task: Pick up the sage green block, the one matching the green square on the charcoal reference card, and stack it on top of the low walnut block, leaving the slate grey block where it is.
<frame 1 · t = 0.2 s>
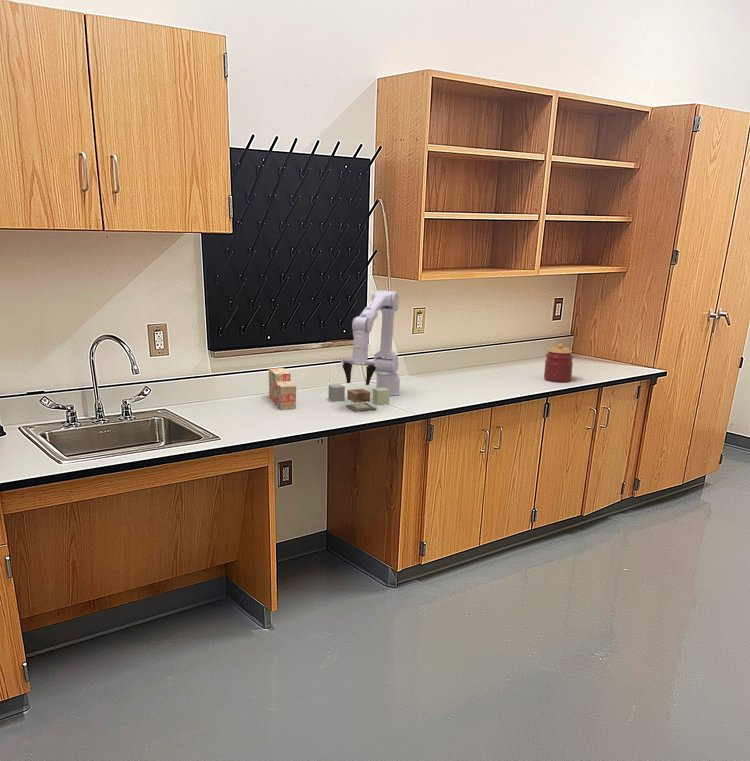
hand: (357, 384, 259), 10 cm above the table, tool pointing down, fingers open, 7 cm apart
walnut base block: (358, 400, 277), on the table
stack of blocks: (282, 403, 270), on the table
sage green block: (380, 403, 273), on the table
canister: (557, 380, 325), on the table
slate grey block: (336, 400, 276), on the table
reference card: (360, 408, 265), on the table
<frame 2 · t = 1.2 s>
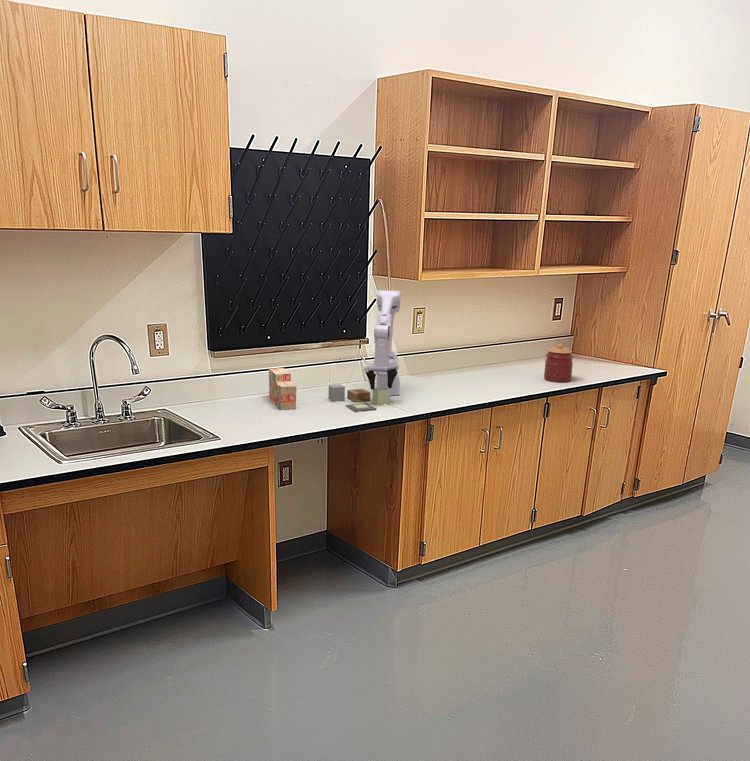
hand: (381, 388, 271), 6 cm above the table, tool pointing down, fingers open, 7 cm apart
nothing on the table moved.
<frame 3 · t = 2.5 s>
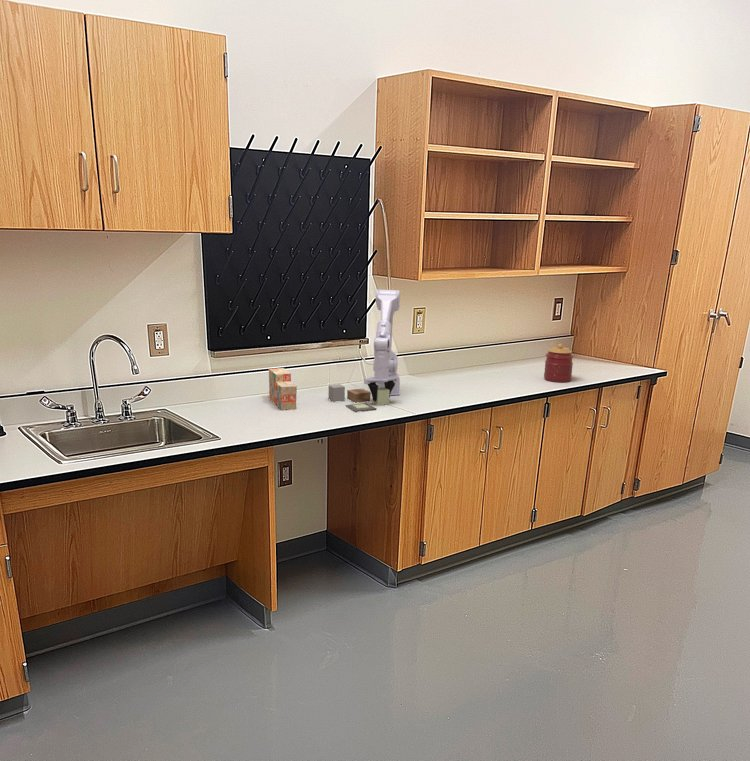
hand: (380, 400, 272), 1 cm above the table, tool pointing down, fingers closed on sage green block, 5 cm apart
sage green block: (380, 403, 273), on the table, touching gripper
everything else where it was.
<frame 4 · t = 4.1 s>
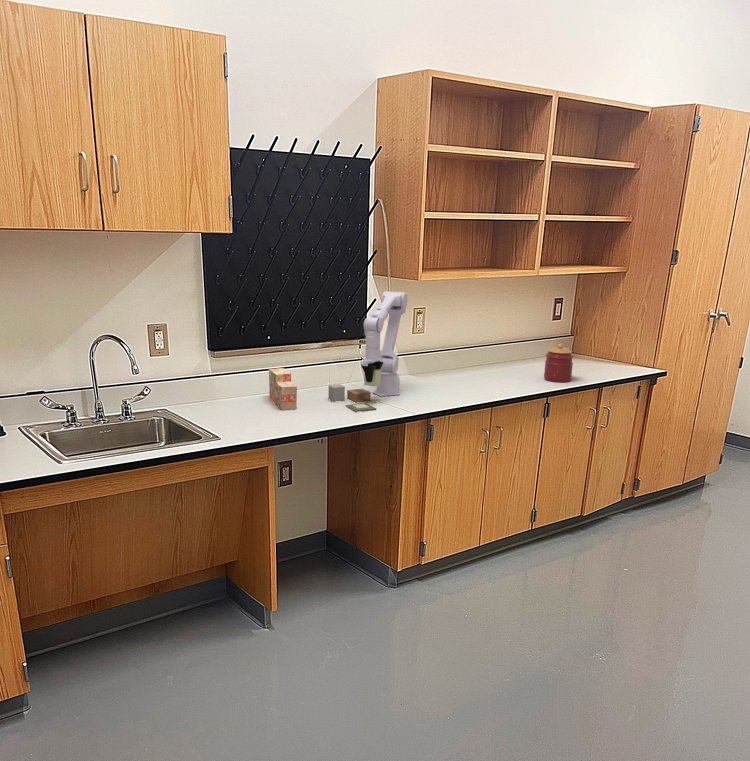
hand: (372, 380, 273), 9 cm above the table, tool pointing down, fingers closed on sage green block, 5 cm apart
sage green block: (372, 384, 273), point 7 cm above the table, touching gripper
everything else where it was.
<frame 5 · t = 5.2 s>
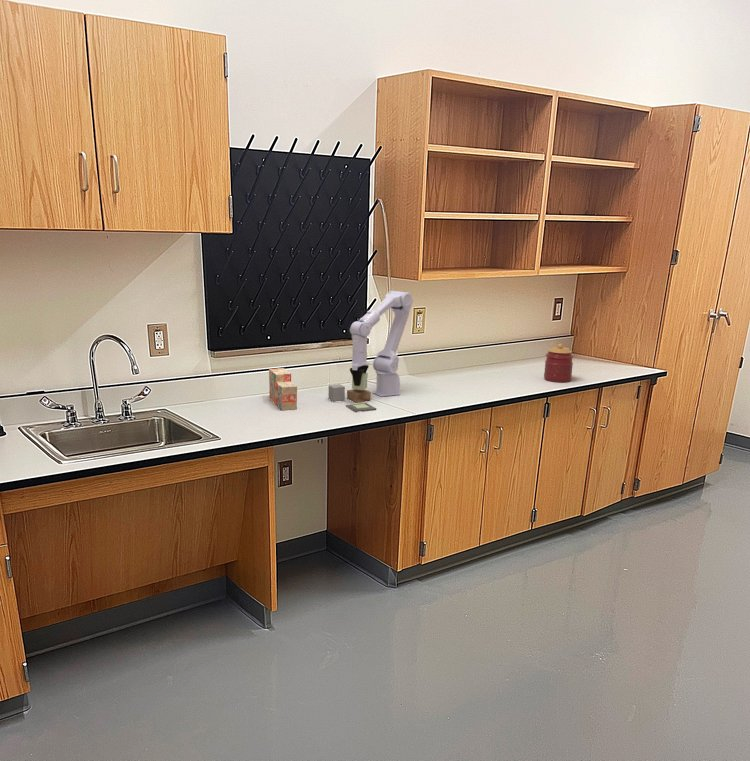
hand: (359, 384, 276), 7 cm above the table, tool pointing down, fingers closed on sage green block, 5 cm apart
sage green block: (359, 388, 276), point 5 cm above the table, touching gripper
everything else where it was.
when the fingers open (7 cm above the table, at t = 5.8 s): sage green block drops 1 cm, resting on walnut base block.
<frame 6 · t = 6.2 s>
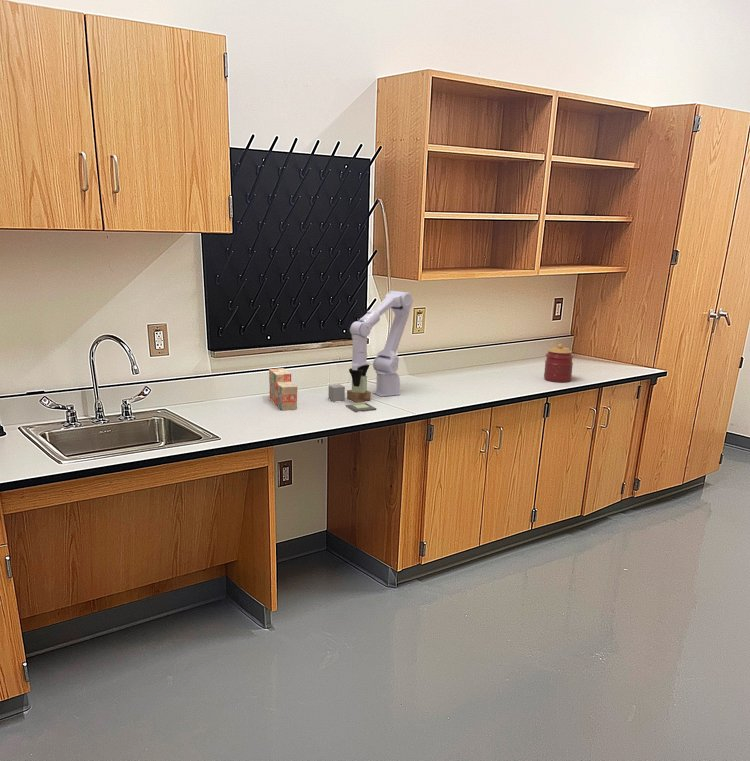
hand: (359, 384, 276), 7 cm above the table, tool pointing down, fingers open, 7 cm apart
walnut base block: (358, 400, 278), on the table, touching sage green block
sage green block: (359, 391, 277), point 4 cm above the table, touching walnut base block
everything else where it was.
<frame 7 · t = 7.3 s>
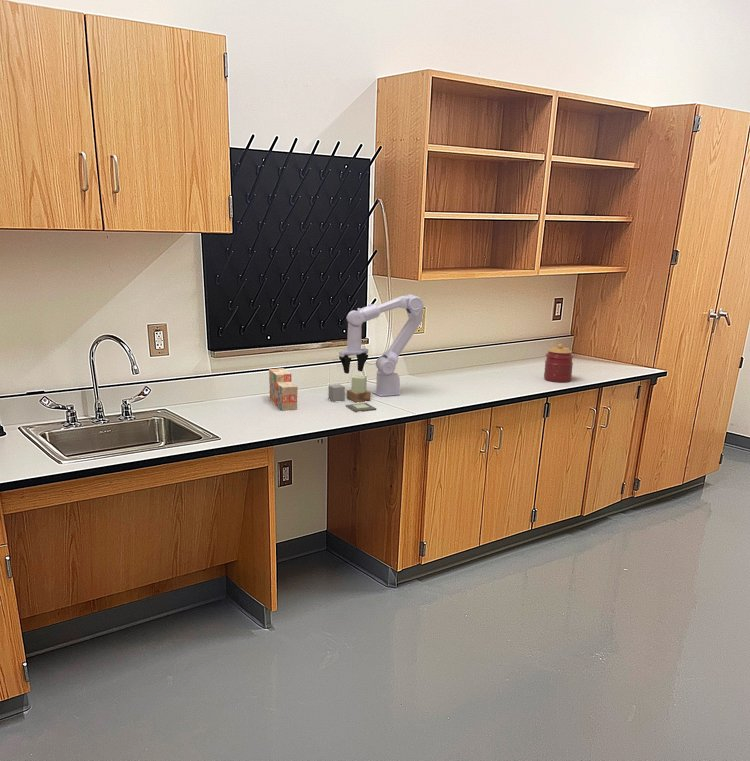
hand: (353, 372, 283), 10 cm above the table, tool pointing down, fingers open, 7 cm apart
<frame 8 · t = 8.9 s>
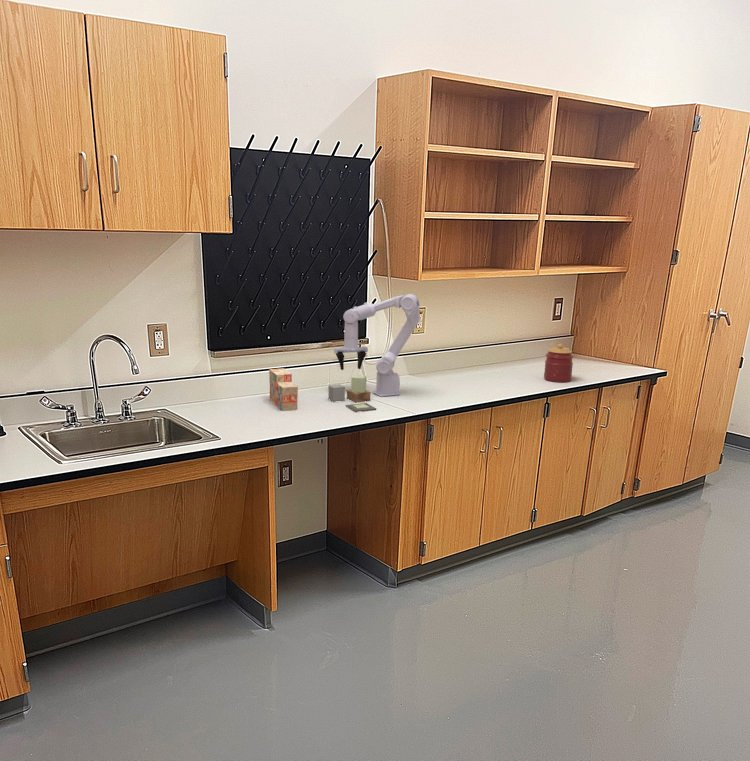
hand: (350, 369, 289), 10 cm above the table, tool pointing down, fingers open, 7 cm apart
walnut base block: (358, 400, 278), on the table
sage green block: (358, 391, 277), point 4 cm above the table
at the end: sage green block 0.1 cm off-centre on the walnut base block, point 4.0 cm above the walnut base block's base; sage green block tilted 0°; slate grey block moved 0.1 cm from its start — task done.
